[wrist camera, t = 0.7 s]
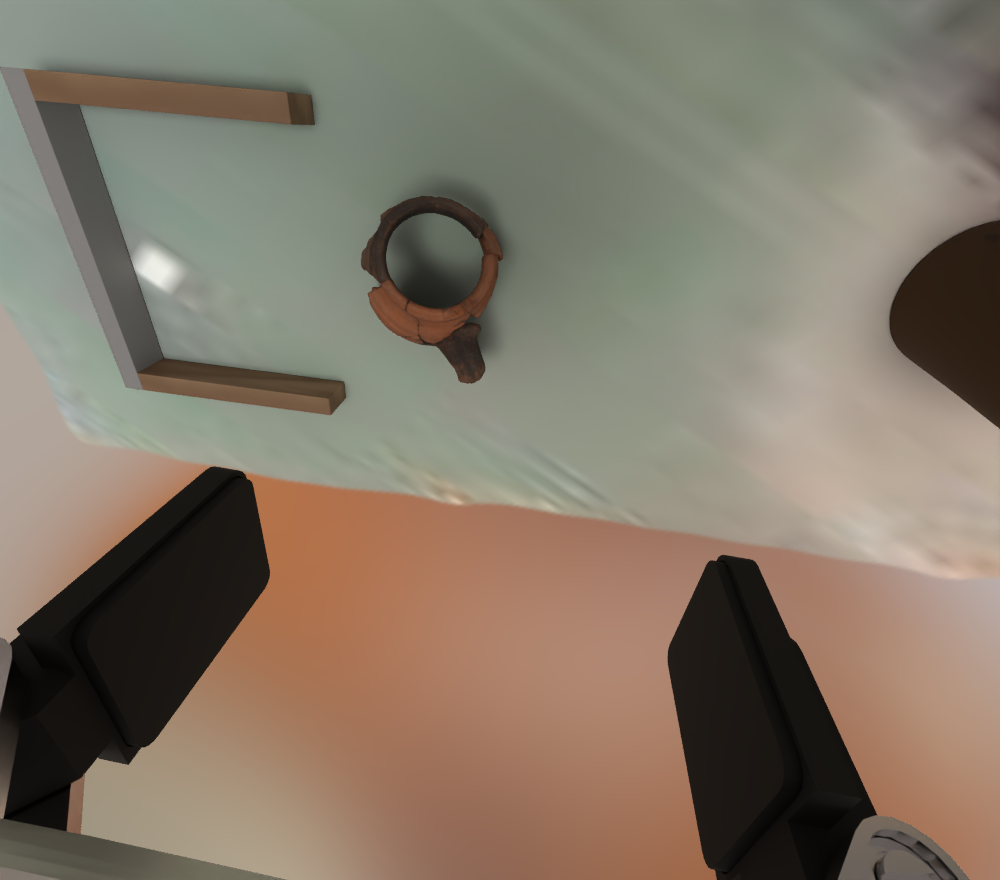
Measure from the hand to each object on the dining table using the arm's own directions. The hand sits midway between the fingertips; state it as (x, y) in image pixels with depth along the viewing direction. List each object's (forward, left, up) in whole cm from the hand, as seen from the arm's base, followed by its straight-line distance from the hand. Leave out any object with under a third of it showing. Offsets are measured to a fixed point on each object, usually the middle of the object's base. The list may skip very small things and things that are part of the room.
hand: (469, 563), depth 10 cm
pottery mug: (+2, -7, -28) cm, 29 cm away
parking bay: (+2, -23, -28) cm, 36 cm away
